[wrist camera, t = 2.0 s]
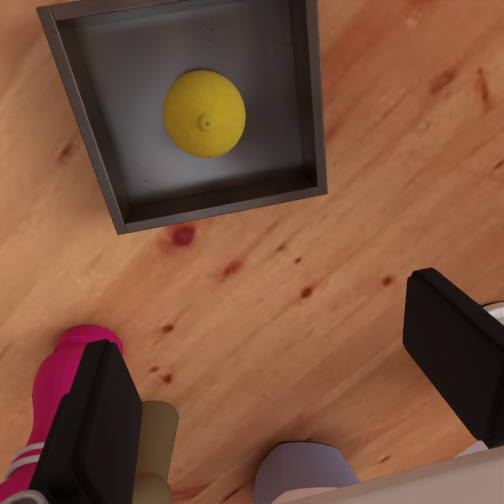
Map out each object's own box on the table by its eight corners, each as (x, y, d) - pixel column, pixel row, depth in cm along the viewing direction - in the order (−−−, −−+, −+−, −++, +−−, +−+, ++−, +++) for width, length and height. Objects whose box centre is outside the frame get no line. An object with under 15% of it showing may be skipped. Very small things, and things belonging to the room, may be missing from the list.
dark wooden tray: (297, -21, 25) (315, -36, 22) (311, 179, 32) (327, 194, 28) (59, 16, 24) (35, 7, 21) (126, 215, 31) (117, 235, 27)
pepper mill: (75, 308, 34) (-46, 558, 17) (141, 340, 37) (97, 583, 20) (39, 357, 36) (-105, 628, 19) (104, 384, 39) (33, 642, 22)
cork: (118, 408, 41) (95, 513, 31) (170, 395, 41) (164, 495, 32) (136, 441, 44) (120, 546, 34) (184, 428, 44) (182, 529, 34)
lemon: (173, 149, 29) (166, 174, 22) (161, 72, 26) (150, 73, 19) (240, 143, 30) (256, 166, 22) (235, 67, 27) (251, 67, 20)
